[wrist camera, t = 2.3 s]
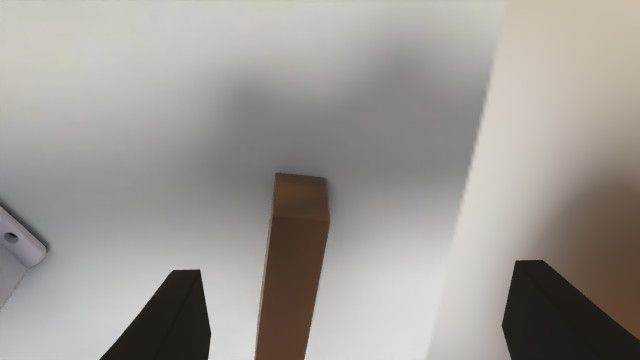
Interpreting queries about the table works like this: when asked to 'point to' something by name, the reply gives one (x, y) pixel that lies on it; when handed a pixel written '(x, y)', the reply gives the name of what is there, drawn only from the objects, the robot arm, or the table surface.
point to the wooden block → (292, 266)
